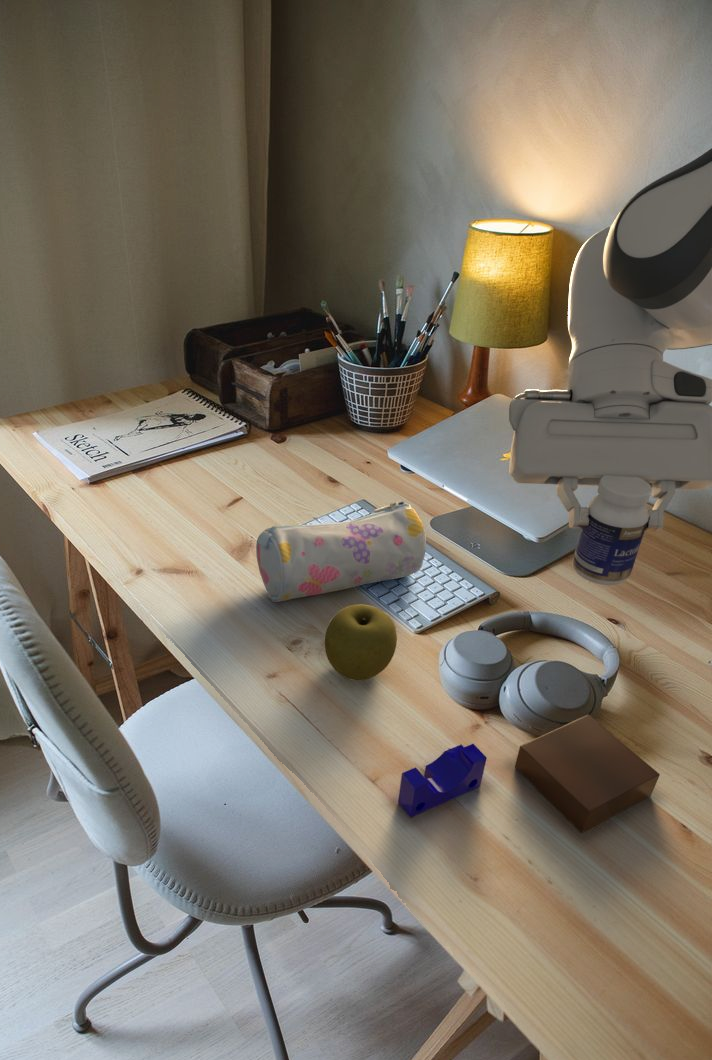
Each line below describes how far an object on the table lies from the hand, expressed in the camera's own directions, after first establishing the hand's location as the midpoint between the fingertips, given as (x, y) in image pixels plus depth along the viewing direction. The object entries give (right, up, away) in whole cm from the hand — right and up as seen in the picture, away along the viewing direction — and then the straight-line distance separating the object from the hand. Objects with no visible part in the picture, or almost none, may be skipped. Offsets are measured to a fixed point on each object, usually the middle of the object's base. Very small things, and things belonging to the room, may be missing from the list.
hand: (616, 528), depth 80 cm
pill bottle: (0, -4, +4) cm, 6 cm away
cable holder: (-18, -25, -2) cm, 31 cm away
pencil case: (-26, -4, +25) cm, 36 cm away
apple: (-24, -14, +12) cm, 31 cm away
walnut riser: (-4, -24, -1) cm, 25 cm away
